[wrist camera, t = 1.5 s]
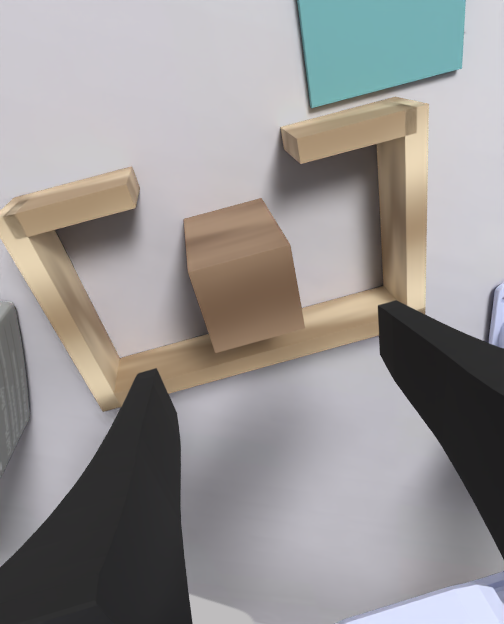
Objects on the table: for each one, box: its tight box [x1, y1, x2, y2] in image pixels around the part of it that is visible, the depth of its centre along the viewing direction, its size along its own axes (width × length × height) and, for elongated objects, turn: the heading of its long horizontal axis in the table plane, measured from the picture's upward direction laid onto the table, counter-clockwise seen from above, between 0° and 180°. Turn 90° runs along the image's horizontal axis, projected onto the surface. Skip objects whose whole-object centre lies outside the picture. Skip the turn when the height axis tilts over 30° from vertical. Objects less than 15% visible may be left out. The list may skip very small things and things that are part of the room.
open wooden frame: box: [0, 97, 429, 412], centre depth 21 cm, size 11×18×3 cm, turn 102°
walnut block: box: [184, 198, 305, 353], centre depth 20 cm, size 4×4×6 cm
